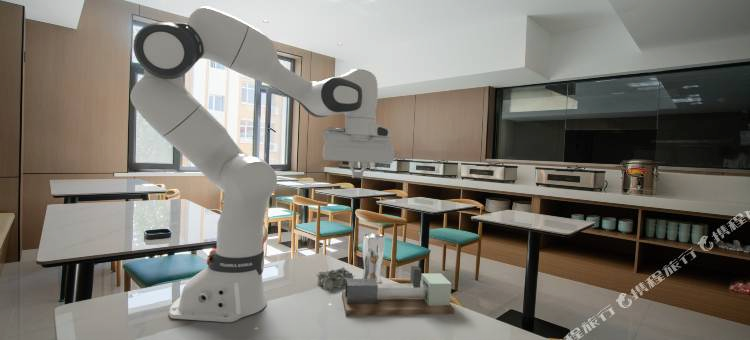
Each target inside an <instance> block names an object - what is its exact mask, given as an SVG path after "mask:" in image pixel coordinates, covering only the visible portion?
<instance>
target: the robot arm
mask: <svg viewBox="0 0 750 340" xmlns="http://www.w3.org/2000/svg"><path fill="white" fill-rule="evenodd" d="M132 48H133V53H134V56H135V59H136V61H137V62H138V64H139V65H140V66H141V67H142V68H143V72H144V73H143V76H142V77H141V78H140V79H139V80H138V81H137V82H136V83H135V84H134V85H133V87H132V89H131V92H130V98H129V99H130V102H131V104H132V105H133V107H134V108H135V109H136V110H137V112H138V113H139V114H140V115H141V117H142V118H143V119H144V121H146V122H147V123H148V124H149V125H150V126H151V127H152V128H153V130H155V131H156V133H158V134H159V135H160V136H161V137H162V138H163V139H165V140H166V141H167V142H168V143H169V144H170V145H171V146H173V148H175V149H176V150H177V151H178V152H180V154H182V155H183V156H184V157H185V158H186V159H187V160H188V161H189V162H190V163H192V164H193V165H194V166H195V168H196V169H198V170H199V172H200V173H202V174H203V175H204V177H206V178H207V179H208V180H209V181H210V182H211V183H212V184H213V185H214V186H215V187H216V188H218V189H219V190H220V191H221V193H224V198H223V204H222V208H221V212H220V216H219V218H218V220H217V227H216V229H217V231H216V248H212V249H211V250H210V252H209V254H208V256H207V258H206V264H207V266H206V267H205V268H203V269H202V270H200V272H198V273H197V274H195V275H193V276H192V277H191V278H190V279H189V280H188V281H187V282H186V284H185V285H184V286H183V289H182V291H181V294H180V296H179V297H178V298H177V299H175V301H173V302H172V304H171V306H170V307H169V313H168V314H169V315H168V316H169V317H170V318H171V319H174V320H176V319H177V320H191V321H202V322H203V321H204V322H221V323H233V322H236V321H238V320H240V319H242V318H244V317H247V316H251V315H253V314H256V313H259V312H260V311H262V310H263V309H265V307H266V305H267V299H266V295H265V291H264V285H263V284H264V283H263V271H264V270H265V269H264V267H265V266H264V265H265V254H264V253H265V252H264V250H263V241H264V240H263V239H264V223H265V217H266V214H267V209H268V204H269V203H270V198H271V196H272V195H273V194H274V192H275V189H276V187H277V184H278V183H277V182H278V178H277V177H278V176H277V173H276V171H275V170H274V168H273V167H272V166H271V165H270V164H269V163H268V162H267V161H265V159H262V158H260V157H258V156H253V155H252V156H251V155H248V154H247V153H245V152H244V151H243V150H242V149H241V148H240V147H239V145H238V144H236V142H235V141H234V139H233V138H232V137H231V135H230V134H229V132H228V130H227V129H226V127H224V126H223V124H222V123H221V122H220V121H218V119H217V118H215V116H214V115H212V113H211V112H209V110H207V109H206V108H205V107H204V106H203V105H202V104H201V103H200V102H199V101H198V100H197V99H196V98H195V97H194V96H193V95H192V94H191V93H190V91H189V90H188V89H187V88H186V87H185V84H184V82H183V78H184V76H185V74H187V73H188V72H189V71H190V70H191V69H192V68H193V67H194V65H196V63H198V61H200V59H203V60H204V59H206V60H210V61H212V62H215V63H218V64H219V65H222V66H224V67H225V68H227V69H230V70H231V71H234V72H236V73H239V74H241V75H243V76H246V77H247V78H251V79H254V80H256V81H259V82H260V83H264V84H266V85H268V86H270V87H272V88H273V89H275V90H277V91H278V92H280V93H282V94H284V95H286V96H288V97H289V98H291V99H293V100H295V102H298V103H299V104H300V106H301V107H302V108H303V109H304V110H305V111H306V112H307V113H308V114H309V115H310V116H313V117H315V118H325V117H328V116H335V115H339V114H344V127H332V126H330V127H328V128H326V129H324V130H323V132H322V141H323V142H324V143H323V144H324V145H323V150H322V158H323V160H325V161H334V162H335V161H337V162H348V167H349V169H350V171H351V178H352V179H363V178H364V172H365V171H366V169H368V164H369V163H371V164H372V163H373V164H390V165H391V164H393V162H394V160H395V144H394V141H393V139H392V138H391V137H392V135H393V131H392V130H391V129H389V128H387V127H385V126H382V125H380V124H377V114H376V110H377V107H378V97H379V95H378V93H379V92H378V90H379V89H378V87H379V86H378V80H377V77H376V76H375V74H373V73H372V72H371V71H369V70H365V69H359V68H354V69H351V70H350V71H349V72H346V73H345V74H341V75H339V76H333V77H330V78H326V79H323V80H321V81H310V80H307V79H305V78H303V77H302V76H300V75H299V74H297V73H295V72H294V71H292V70H290V69H288V68H287V67H286V66H284V65H283V64H282V63H281V61H280V60H279V56H278V50H277V47H276V45H275V43H274V41H273V40H272V39H270V38H269V37H268V36H267V35H266V34H264V33H263V32H262V31H260V29H258V28H255V27H254V26H252V25H250V24H248V23H247V22H245V21H243V20H241V19H239V18H238V17H235V16H233V15H231V14H228V13H227V12H224V11H220V10H218V9H215V8H212V7H210V6H201V7H198V8H196V9H195V10H194V11H193V12H192V13H191V14H190V15H189V17H188V19H187V21H186V22H168V21H167V22H163V21H160V22H159V21H158V22H153V23H149V24H146V25H144V26H143V27H142V28H141V29H139V30H138V32H137V33H136V35H135V37H134V39H133V47H132ZM355 163H361V166H362V168H361V169H360V170H359V171H355V170H356V169H355V168H354V166H355Z"/></svg>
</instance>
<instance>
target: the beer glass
mask: <svg viewBox="0 0 750 340" xmlns="http://www.w3.org/2000/svg"><path fill="white" fill-rule="evenodd" d="M384 254H385V235H383V234H381V233H376V232H370V233H364V235H363V242H362V260H363V261H362V263H363V275H362V278H361V279H375V280H376V283H377V284H381V283H382V281H381V280H382V279H381V269H382V263H383V259H384Z"/></svg>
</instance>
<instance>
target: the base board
mask: <svg viewBox="0 0 750 340" xmlns="http://www.w3.org/2000/svg"><path fill="white" fill-rule="evenodd" d="M341 298H342V303H343V309H344V314H345V316H346V317H356V316H357V317H362V316H366V317H367V316H408V315H409V316H410V315H411V316H413V315H414V316H415V315H423V316H425V315H454V314H455V307H454V306H453V305H452V304H451V303H450V305H433V306H429V305H428V304H427V302H426V301H425V300H424V298H393V299H377V304H347V303H346V298H345V291H341Z"/></svg>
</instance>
